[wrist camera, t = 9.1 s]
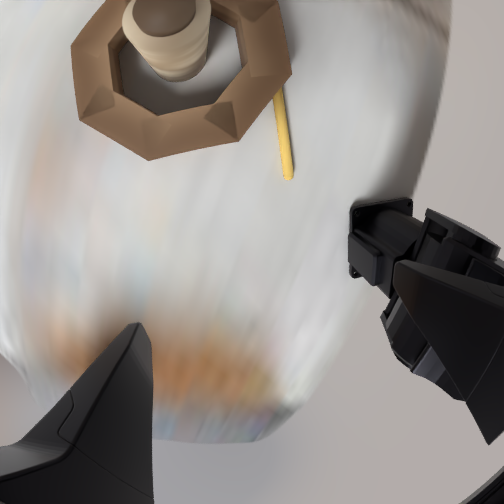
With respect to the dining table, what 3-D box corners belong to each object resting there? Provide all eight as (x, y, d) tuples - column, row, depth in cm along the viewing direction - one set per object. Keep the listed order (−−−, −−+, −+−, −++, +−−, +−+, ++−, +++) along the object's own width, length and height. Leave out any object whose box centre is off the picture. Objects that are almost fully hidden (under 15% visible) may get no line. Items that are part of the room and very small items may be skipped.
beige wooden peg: (202, 30, 14) (206, -34, 6) (210, 76, 16) (217, 34, 8) (149, 42, 14) (115, -14, 6) (156, 87, 15) (120, 56, 7)
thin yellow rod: (277, 73, 16) (280, 71, 16) (292, 178, 20) (295, 179, 19) (267, 73, 16) (269, 72, 15) (282, 179, 19) (285, 181, 19)
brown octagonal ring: (260, -24, 12) (267, -40, 10) (288, 132, 18) (300, 133, 16) (82, 13, 11) (70, 2, 9) (104, 171, 17) (91, 178, 15)
